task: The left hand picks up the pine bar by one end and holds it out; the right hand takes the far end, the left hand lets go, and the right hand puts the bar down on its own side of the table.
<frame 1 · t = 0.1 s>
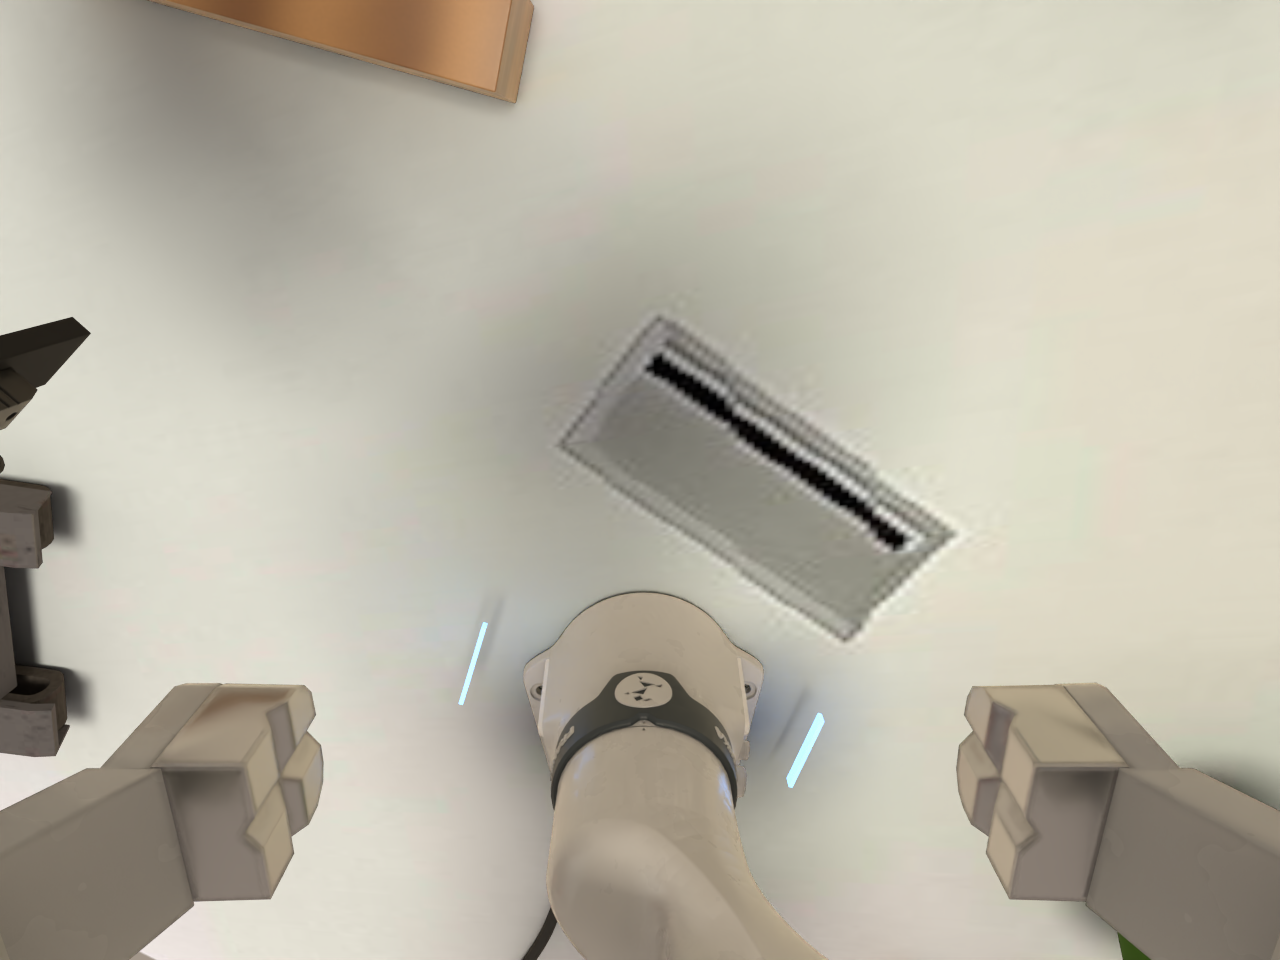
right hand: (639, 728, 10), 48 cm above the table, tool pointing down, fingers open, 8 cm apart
vase: (1164, 836, 72), on the table
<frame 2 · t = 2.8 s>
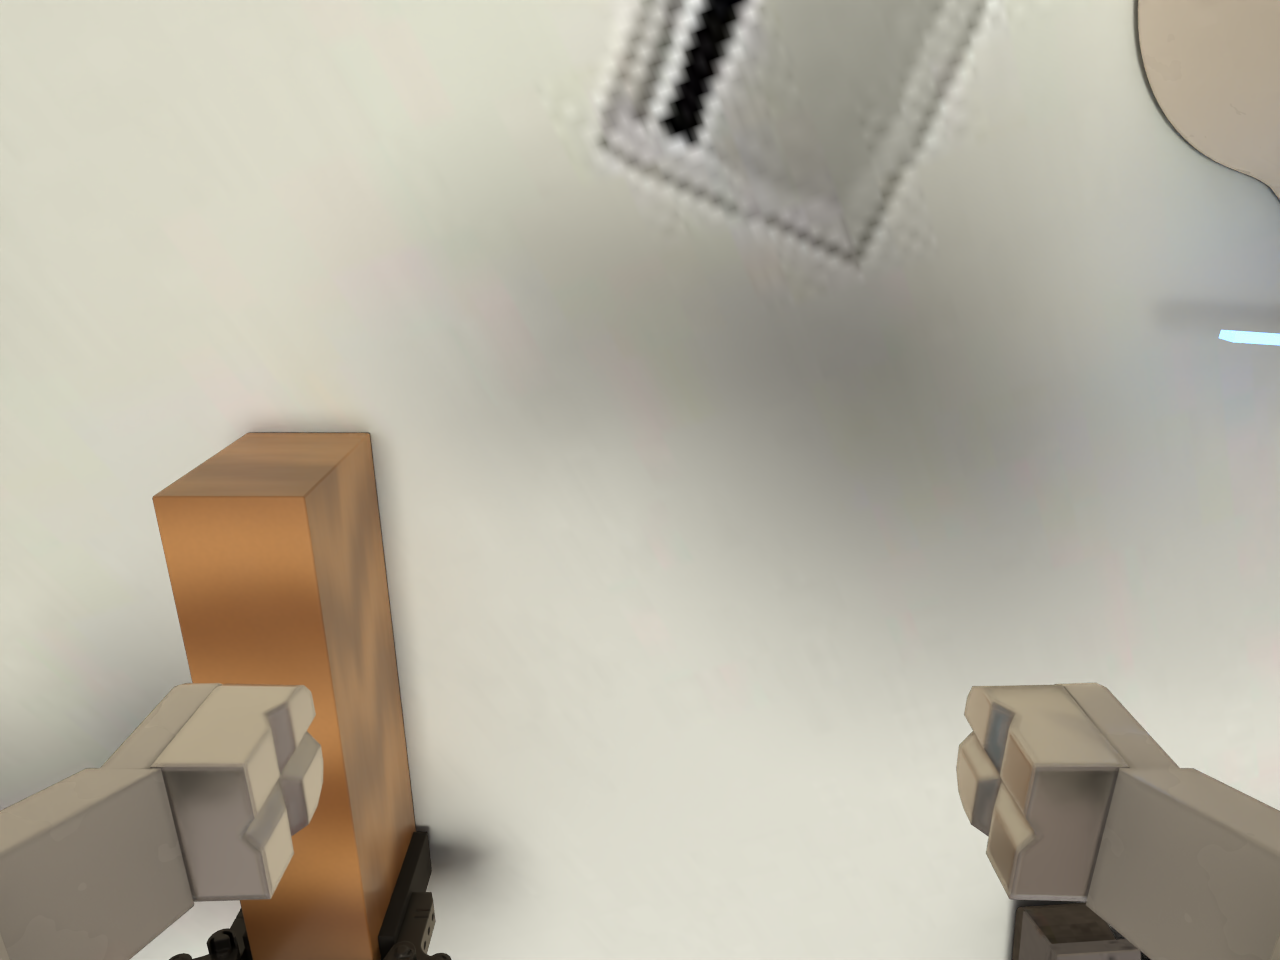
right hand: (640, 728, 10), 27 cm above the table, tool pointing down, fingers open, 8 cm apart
bar: (345, 688, 42), on the table, touching left hand
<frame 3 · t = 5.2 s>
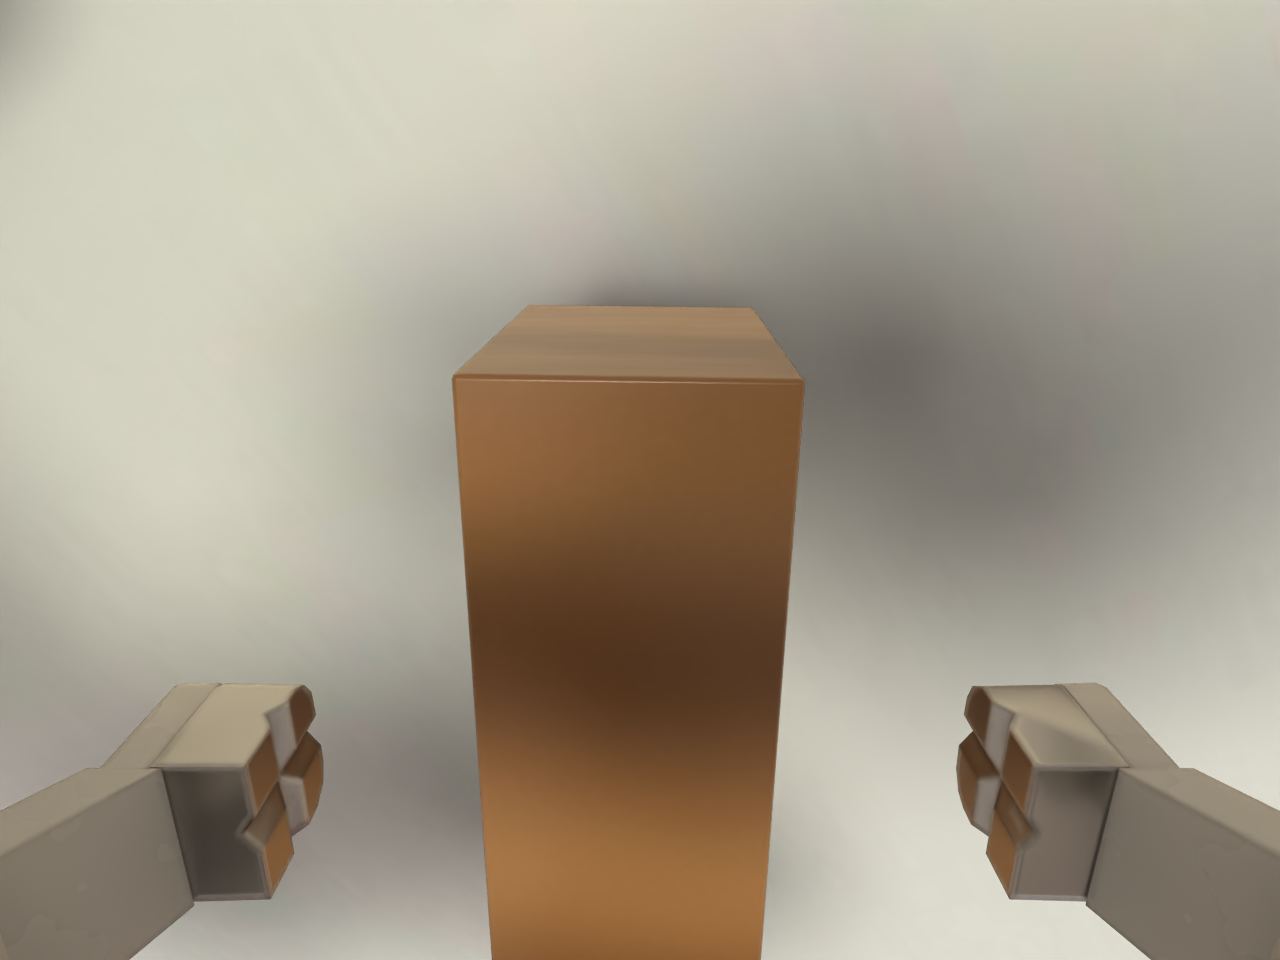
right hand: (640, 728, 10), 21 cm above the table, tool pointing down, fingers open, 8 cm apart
bar: (636, 764, 25), point 9 cm above the table, touching left hand
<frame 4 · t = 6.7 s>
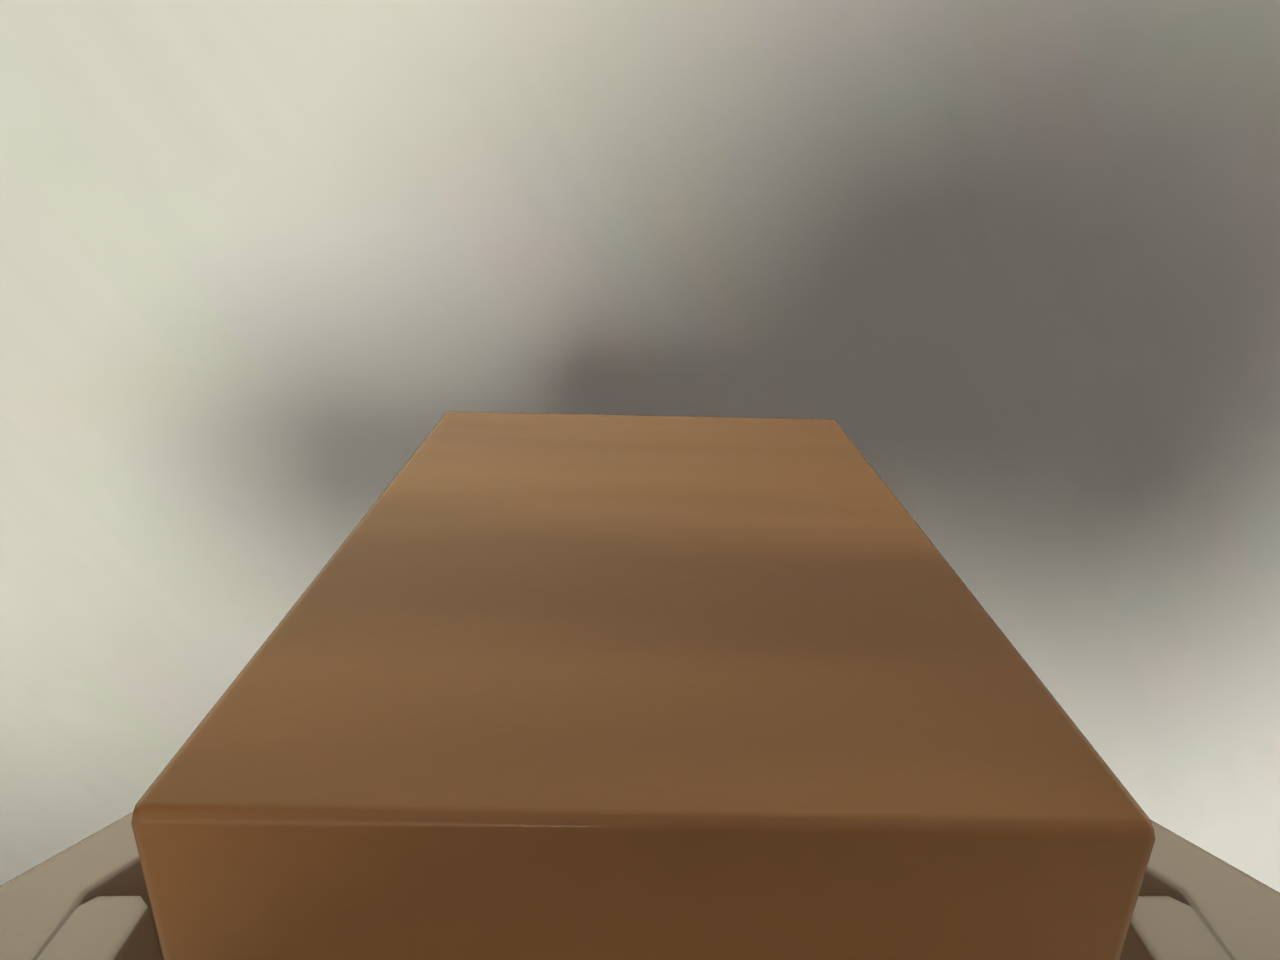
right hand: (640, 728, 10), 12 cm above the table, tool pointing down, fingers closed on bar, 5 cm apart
when the left hand's fingers open (10 cm above the table, at t = 7.7 s): bar stays where it is, held by the right hand.
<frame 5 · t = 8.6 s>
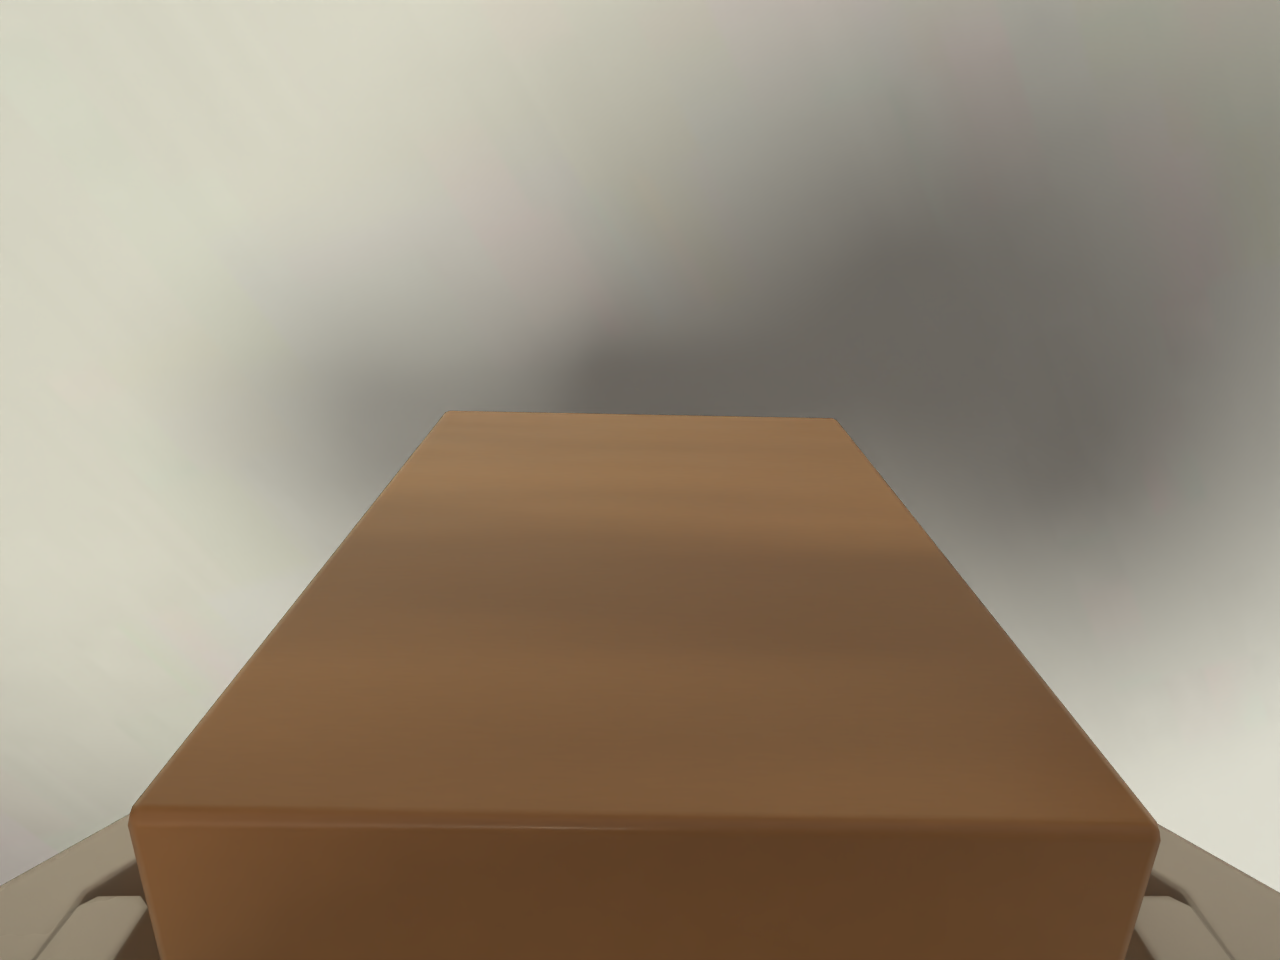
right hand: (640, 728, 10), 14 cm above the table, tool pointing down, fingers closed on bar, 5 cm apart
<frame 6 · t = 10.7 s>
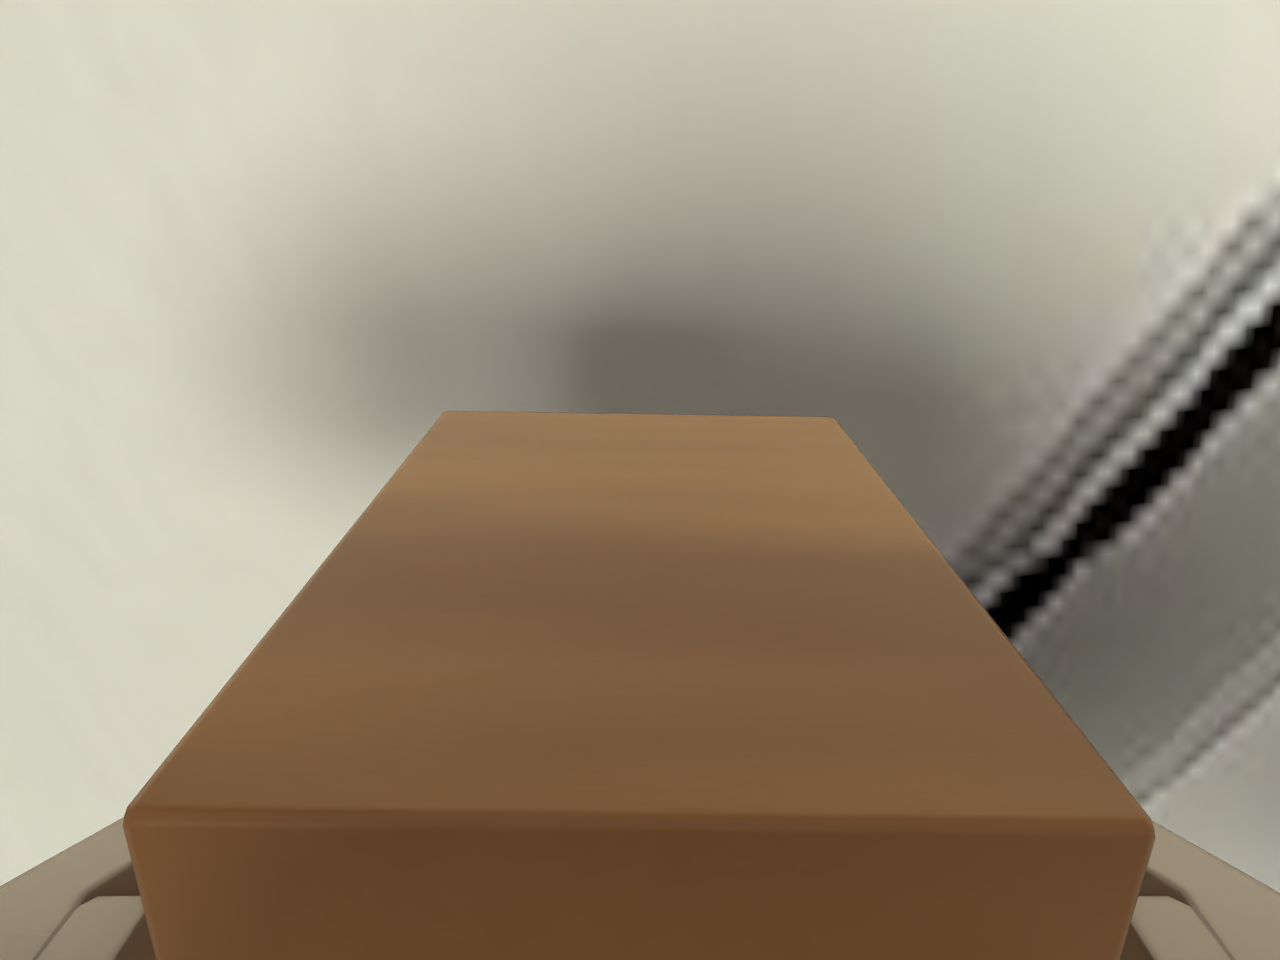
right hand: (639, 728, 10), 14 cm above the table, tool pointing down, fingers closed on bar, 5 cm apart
when the right hand's fingers open (4 cm above the table, at t = 14.6 s): bar drops 2 cm, on the table.
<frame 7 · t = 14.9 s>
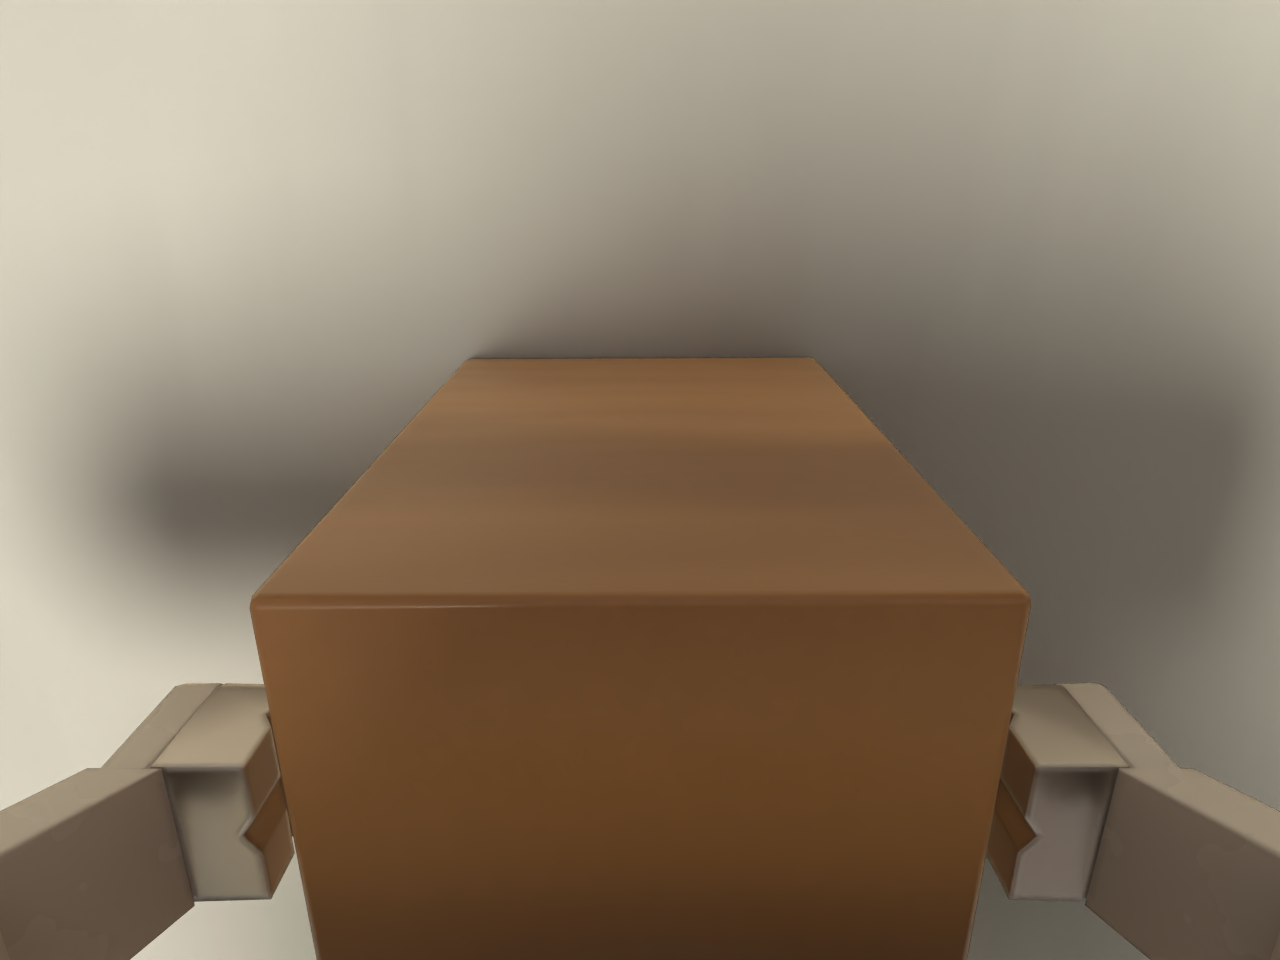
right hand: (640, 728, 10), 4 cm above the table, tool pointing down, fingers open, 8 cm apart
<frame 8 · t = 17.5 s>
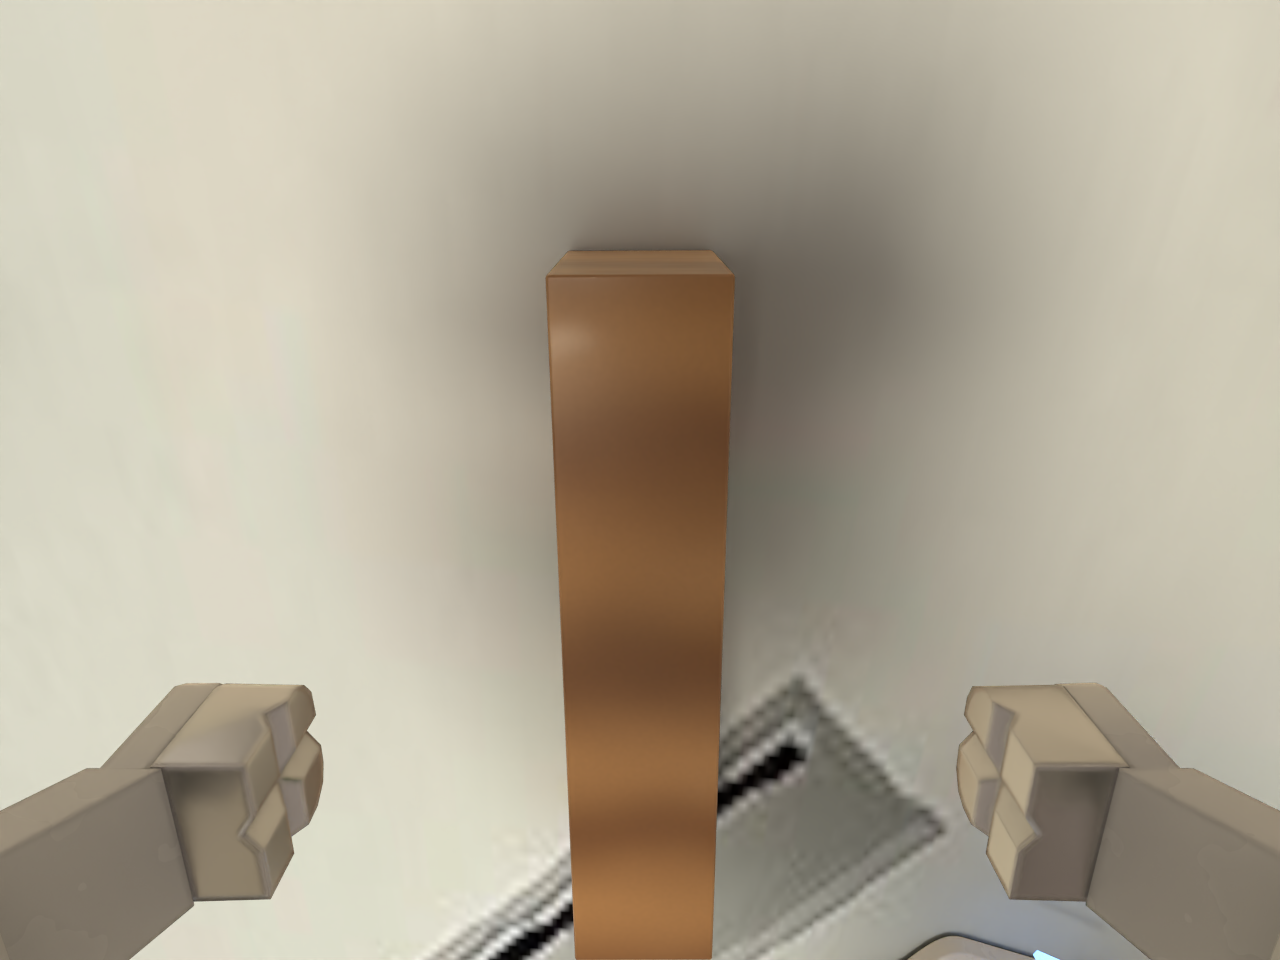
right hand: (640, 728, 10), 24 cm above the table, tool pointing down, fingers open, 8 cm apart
bar: (641, 571, 36), on the table
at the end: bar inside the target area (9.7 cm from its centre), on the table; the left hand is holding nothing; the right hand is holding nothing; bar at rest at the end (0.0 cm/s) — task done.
